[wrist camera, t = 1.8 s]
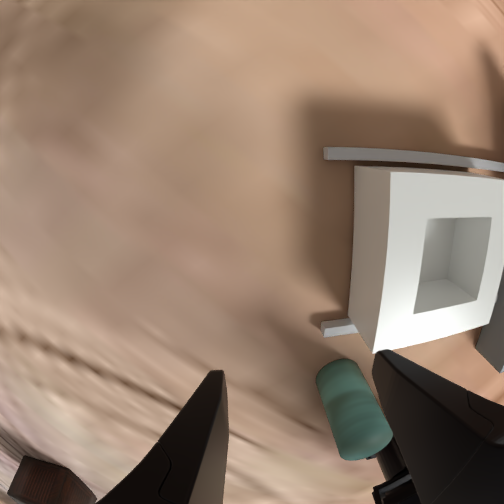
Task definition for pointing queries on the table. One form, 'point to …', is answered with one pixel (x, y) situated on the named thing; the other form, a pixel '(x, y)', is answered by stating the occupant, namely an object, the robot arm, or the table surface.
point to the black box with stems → (48, 484)
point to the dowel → (352, 410)
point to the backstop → (500, 325)
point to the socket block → (424, 253)
